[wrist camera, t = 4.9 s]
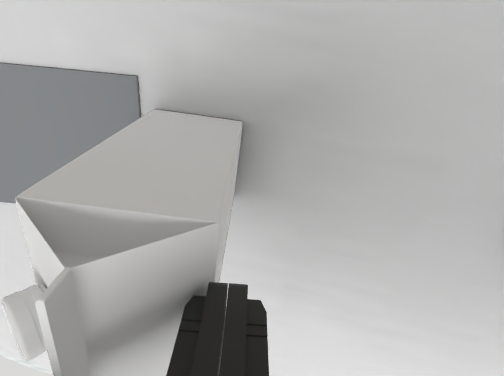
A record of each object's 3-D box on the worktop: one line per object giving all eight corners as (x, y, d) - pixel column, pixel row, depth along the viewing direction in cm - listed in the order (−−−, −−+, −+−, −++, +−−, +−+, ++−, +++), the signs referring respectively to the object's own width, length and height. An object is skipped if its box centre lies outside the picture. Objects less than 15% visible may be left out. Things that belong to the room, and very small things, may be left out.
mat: (137, 76, 22) (136, 76, 22) (148, 212, 28) (146, 213, 27) (-109, 52, 22) (-114, 52, 22) (-50, 195, 27) (-54, 197, 27)
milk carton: (243, 120, 24) (199, 319, 7) (234, 198, 27) (187, 469, 10) (154, 108, 24) (-128, 281, 6) (155, 188, 27) (-33, 446, 10)
